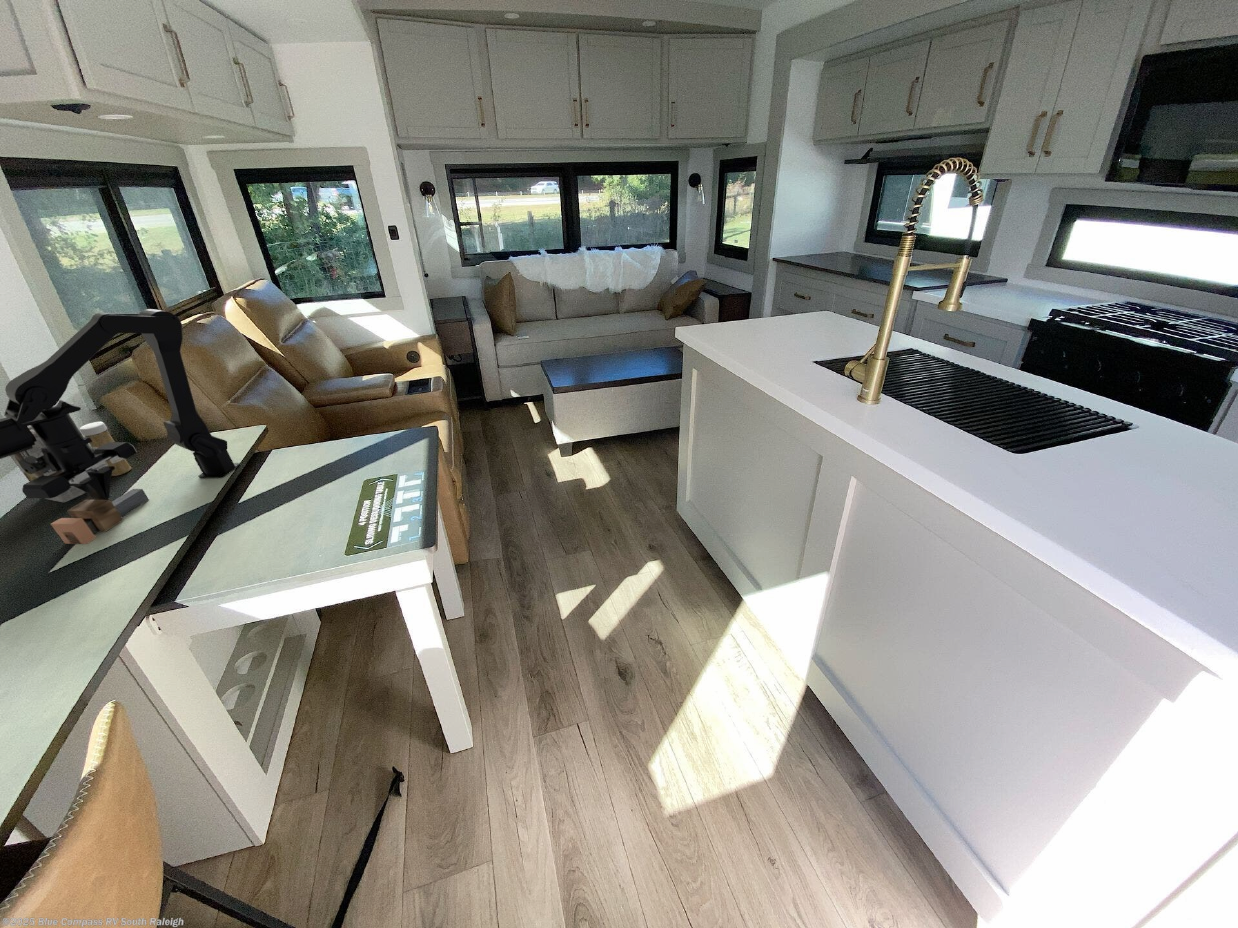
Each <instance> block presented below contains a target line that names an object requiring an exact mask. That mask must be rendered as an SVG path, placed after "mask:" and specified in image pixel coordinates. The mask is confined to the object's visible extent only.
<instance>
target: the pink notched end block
mask: <svg viewBox="0 0 1238 928" xmlns="http://www.w3.org/2000/svg"><path fill="white" fill-rule="evenodd" d="M50 526H51V527H52V528H53V530H54V531H55V532H56V534H57V535H58V536H59V537H60V538H61V540H62V541H63V543H64V544H67V545H69V544H71V543H70V541H69V540H68V539H72V538H74V537H76V538H77V539H78V540H79V542H80V543H81V544H80V545H87V544H89V543H90V542H92V541H93V540H95V539H96V538H97V537H96V536H95V535H94V534H93V533H92V531H91V530H90V529H89V527H88V526H87V524H86V523H85V522H84V520H83V519H82V518H72V517H61V518H59V519H57V520H55V521H53V522H51V523H50ZM62 532H63V533H65V534H66V533H68V532H69V533H70V535H67V536H70V537H72V536H73V535H75V536H73V537H72V538H69V537H67V538H66V537H65V535H64V534H63V533H62ZM71 532H72V533H73V534H72V533H71ZM69 533H68V534H69ZM71 534H72V536H71ZM76 538H74V540H77V539H76ZM72 541H73V540H72ZM72 541H71V542H72ZM76 542H77V541H76ZM74 543H75V542H74ZM71 545H72V544H71ZM77 545H79V544H78V542H77Z"/></svg>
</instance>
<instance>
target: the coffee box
mask: <svg viewBox="0 0 1238 928" xmlns="http://www.w3.org/2000/svg"><path fill="white" fill-rule="evenodd" d="M28 428H29V430H30V431H31V432H32V434H33V435H34V436H35V438H36V440H37V441H36V442H34V443H35V444H36V445H32V447H33V448H32V449H29V450H26V451H23V452H20V453H17V454H14V455H11V456H9V458H11V460H12V461H13V462H14V463H15V465H16V466H17V467H18V468H19V470H20V471H21V473H22V474H23V475H24V476H25V477H26V479H27V480H28V482H30V481H32V480H34V479H36V478H38V477H40V476H56V475H58V474H60V473H62V472H63V471H62V470H60V471H58V472H52V470H51V469H50V470H48V472H46V473H44V474H41V473H40V472H39V471H37V472H35V473H33V474H28V473H27V472H26V471H24V470H23V469H22V467H21V466H20V464H19V462H18V461H20V460H22V459H24V458H26V457H29V456H34V457H36V458H39V457H41V456H43V455H44V454H43V453H42V451H41V448H43V447H45V446H44V444H43V443H42V441H41V440H40V438H39V437H38V435H37V434H36V433H35V431H34V430H33V428H32V427H31V426H30V427H28ZM84 494H87V493H86V492H84V491H82V490H80V489H78V488H76V487H74V486H70V488H69V490H68V491H66V492H64V493H62V494H60V495H58V496H56V497H54V498H43V499H45V500H48V501H49V500H50V501H55V502H60V503H67V502H69V501H71V500H74V499H77V498H78V497H80V496H83V495H84Z"/></svg>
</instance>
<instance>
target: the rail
mask: <svg viewBox="0 0 1238 928" xmlns="http://www.w3.org/2000/svg"><path fill="white" fill-rule="evenodd" d="M149 500H150V498H149V497H148V496H147V494H146V493H145V491H144V489H143V488H132V489H130V490H128V491H127V492H125V493H124V494H122V495H121V496H119V497H117V498H116V499H114V500H112V501H111V502H112V504H113V505H114V507H115V508H116V510H117V511H118V513H119V514H120V516H121V517H122V518H123V517H124V516H126V515H128V514H129V513H130V512H132V511H134V510H135V509H137V508H138V507H140V506H141V505H143V504H145V503H146V502H148V501H149ZM83 520H84V522H85V523H86V524H87V526H88V527H89V529H90V530H91V531H92V533H93V534H94V536H95V535H97V534H98V533H100V532H101V531H100V530H99V529H98V527H97V526H96V525H95V523H94V522H93V520H92V519H83ZM62 533H63V532H62ZM68 533H69V532H68ZM68 533H66V534H65V533H63V534H64V535H65V537H66V538H67V537H69V538H72V537H73V536H75V535H73V536H72V534H73V533H72V532H71V533H72V534H71V536H72V537H70V536H67V535H70V533H69V534H68ZM74 538H76V537H74ZM74 538H72V539H68V540H69V541H70V543H71V545H75V544H77V542H78V544H77V545H82V544H81V543H80V542H79V540H78V539H77V538H76V539H77V540H74ZM72 540H73V541H72ZM71 541H72V542H71ZM76 541H77V542H76ZM74 542H75V543H74Z"/></svg>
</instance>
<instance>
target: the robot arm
mask: <svg viewBox="0 0 1238 928" xmlns="http://www.w3.org/2000/svg"><path fill="white" fill-rule="evenodd" d="M118 334H141V335H142V337H143V339H144V340H145V343H147V344H148V346H149V347H150V349H151V350H152V352H153V353H154V356H155V357H154V358H155V360H156V364H157V368H158V369H159V374H160V377H161V380H162V383H163V387H164V390H165V395H166V397H167V400H168V404H169V407H170V411H171V416H170V420H167V421H163V422H162V423H163V425H164V428H165V429H166V434H167V435H166V438H167V439H169V440H171V442H172V443H173V444H174V445H176V446H179V447H181V448H182V449H186V450H188V451H191V452H192V455H193V457H194V460H195V462H196V464H197V466H198V467H199V469H200V471H201V473H200V474H199V475H198V478H199V479H222V478H224V477H225V476H227V475H228V474H230V473H231V472H233V471H235V469H237V468H238V467H240V466H241V464H240V463H239V462H233V459H232V457H231V455H230V454H229V451H228V441H227V440H226V439H222V438H219V437H217V436H214V435H212V433H211V432H210V430H209V428H208V426H207V424H206V422H205V420H203V418H202V417H201V416H200V414H199V413H198V411H197V408H196V404H195V400H194V396H193V393H192V390H191V385H190V381H189V379H188V375H187V372H186V368H185V367H186V366H185V365H184V361H183V357H182V352H181V350H182V344H183V340H184V338H183V324H182V321H181V319H180V318H179V316H177V315H175V314H173V312H170V311H168V310H167V311H166V310H160V309H153V308H147V309H143V310H142V311H140V312H139V313H133V312H132V313H130V312H128V313H124V312H123V313H108V312H97V313H95V314H93V315H92V316H91V318H90V320H89V321H88V322H86V323H85V325H83V327H81V328H80V329H79V330H78V331H77V332H76V333H75V334H74V335H73V336H72V337H70V339H68V341H66V342H65V343H64V344H63V345H62V346H61V347H60V348H59V349H57V350H56V352H53V354H52V355H50V356H49V358H47V359H46V360H45V361H44V362H42V363H41V364H39V365H36V366H34V367H32V368H30V369H27V370H26V371H24V372H23V373H21V374H19V375H18V376H15V377H14V378H13V379H11V380H10V381H8V383H6V385H5V393H6V396H7V397H8V402H7V405H6V408H5V412H4V417H2V418H0V460H1V459H5V458H8V457H10V456H11V455H14V454H17V453H20V452H23V451H26V450H29V449H32V448H33V447H32V445H36V444H35V443H34V442H36V441H37V440H36V438H35V436H34V435H33V434H32V432H31V431H30V430H29V428H30V427H32V428H33V430H34V431H35V433H36V434H37V435H38V437H39V438H40V440H41V441H42V443H43V444H44V446H45V447H43V448H41V451H42V453H43V454H44V455H43V456H41V457H39V458H36V457H34V456H29V457H26V458H24V459H22V460H20V461H18V462H19V464H20V466H21V467H22V469H23V470H24V471H26V472H27V473H28V474H33V473H35V472H37V471H39V472H40V473H41V474H44V473H46V472H48V470H50V469H51V470H52V472H58V471H60V470H62V471H63V472H62V473H60V474H58V475H56V476H40V477H38V478H36V479H34V480H32V481H30V482H29V481H28V482H26V483H24V484H23V485H22V489H21V491H22V494H24V495H25V497H26V498H27V499H44V498H54V497H56V496H58V495H60V494H62V493H64V492H66V491H68V490H69V488H70V486H74V487H76V488H78V489H80V490H82V491H84V492H86V493H85V494H86V495H89V496H90V497H92V498H94V500H110V493H111V491H110V490H111V489H110V487H111V481H112V476H111V475H112V471H113V470H114V469H115V467H114V466H108V465H107V464H106V461H108V460H110V459H111V458H113V457H115V456H117V455H118V457H120V458H124V459H129V458H130V457H132V456H135V454H137V453H138V451H137V450H136V448H135V446H134V445H133V444H131V443H130V442H127V441H121V442H120V441H117V442H116V441H115V442H109V443H107V444H105V445H103V446H101V447H99V448H97V449H95V450H93V448H92V447H91V445H90V442H92V440H91V439H90V437H85V436H84V435H83V434H82V433H81V431H80V428H79V427H78V426H77V424H76V423H75V421H74V419H73V417H72V416H71V415H70V414H73V413H76V412H79V411H81V410H82V408H81V407H80V406H78V405H76V404H71V403H69V402H67V401H64V400H61V398H62V397H63V395H64V394H65V392H66V390H67V388H68V386H69V383H70V381H71V380H72V378H73V377H74V375H75V374H76V373H77V372H78V371H79V370H81V368H83V367H84V366H85V365H86V364H87V363H88V362H89V361H90V360H91V359H92V358H93V357H95V355H96V354H98V352H99V351H100V350H101V349H102V348H103V347H105V346H106V345H107V344H108V343H109V342H110V341H111V340H112V339H113V338H114V337H115V336H116V335H118ZM29 426H30V427H29ZM229 472H230V473H229Z"/></svg>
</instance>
